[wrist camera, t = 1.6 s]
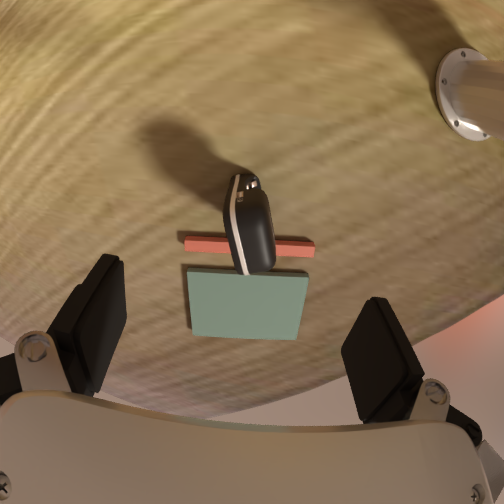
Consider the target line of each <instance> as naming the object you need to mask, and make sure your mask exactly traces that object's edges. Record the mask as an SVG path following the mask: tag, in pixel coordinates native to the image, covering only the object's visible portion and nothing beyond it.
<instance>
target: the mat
mask: <svg viewBox="0 0 504 504" xmlns="http://www.w3.org/2000/svg"><path fill="white" fill-rule="evenodd" d="M187 279H188V291H189V302H190V312H191V322H192V331H193V335H197V336H210V337H226V338H246V339H276V340H296V337H297V333H298V329H299V324H300V319H301V315H302V310H303V305H304V301H305V296H306V291H307V286H308V281H309V275H308V273H290V272H267V271H265V272H259V273H252V274H250V275H246V276H245V275H239V274H238V273H237V272H236V270H226V269H207V268H189V267H188V270H187Z"/></svg>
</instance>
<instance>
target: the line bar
mask: <svg viewBox="0 0 504 504" xmlns="http://www.w3.org/2000/svg"><path fill="white" fill-rule="evenodd" d="M184 242H185V251H195V252H215V253H231V251H230V247H229V243H228V240H227V238H224V237H202V236H186V238H185V240H184ZM275 243H276V256H296V257H314V251H315V245H314V242H301V241H283V240H275Z"/></svg>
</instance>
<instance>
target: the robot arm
mask: <svg viewBox="0 0 504 504" xmlns="http://www.w3.org/2000/svg"><path fill="white" fill-rule="evenodd" d="M435 82H436V96H437V101H438V104H439V108H440V110H441V113H442V115H443V117H444V119H445V120H446V122H447V123H448V125H449V126H450V127H451V128H452V130H453V131H454V132H456V133H457V134H458V135H460V136H462V137H464V138H466V139H469V140H472V141H482V140H485V139H487V138H489V137H491V136H493V137H496V138H498V139H501V140H503V141H504V61H494V60H488V59H487V58H486V57H485V56H484V55H482V54H481V53H479V52H478V51H475V50H473V49H469V48H458V49H455V50H452V51H450V52H449V53H447V54H446V55H445V56H444V57H443V59H442V60H441V62H440V64H439V67H438V70H437V74H436V81H435ZM126 319H127V312H126V299H125V284H124V264H123V261H120V260H119V257H118V256H115V255H110V254H103V255H102V256H101V257H100V259H99V260H98V261H97V263H96V264H95V266H94V267H93V268H92V270H91V271H90V273H89V274H88V276H87V277H86V279H85V280H84V281H83V283H82V284H78V285H77V286H76V287H75V288H74V290H73V291H72V293H71V294H70V296H69V297H68V299H67V300H66V302H65V303H64V305H63V306H62V308H61V309H60V311H59V312H58V314H57V316H56V317H55V319H54V320H53V322H52V324H51V325H50V327H49V328H48V330H47V332H46V333H45V332H43V331H30V332H28V333H25V334H24V335H22V336H21V337H20V338H19V339H18V341H17V342H16V345H15V349H14V353H12V354H10V355H7V356H4V357H1V358H0V504H494V503H495V501H496V500H497V498H498V496H499V494H500V493H501V490H502V489H503V487H504V460H503V459H502V458H501V457H500V456H499V455H498V453H497V452H496V451H495V450H494V449H493V448H492V447H491V446H490V445H489V443H487V441H486V440H483V441H482V431H481V429H480V426H479V425H478V424H477V423H476V422H475V421H474V420H472V419H471V418H469V417H468V416H466V415H465V414H463V413H462V412H460V411H459V410H457V409H455V408H454V407H453V406H451V405H450V394H449V391H448V389H447V388H446V387H445V385H444V384H442V383H441V382H440V381H438V380H436V379H431V378H430V379H426V380H425V381H423V379H422V377H423V376H424V374H425V373H424V371H423V369H422V367H421V365H420V362H419V361H418V358H417V356H416V354H415V352H414V350H413V348H412V346H411V344H410V342H409V340H408V338H407V336H406V334H405V332H404V330H403V328H402V326H401V325H400V323H399V321H398V319H397V317H396V315H395V313H394V311H393V310H392V308H391V306H390V304H389V302H388V300H387V299H386V298H380V297H372V298H370V300H367V301H366V303H365V304H364V306H363V308H362V310H361V312H360V314H359V316H358V318H357V320H356V322H355V323H354V325H353V327H352V329H351V331H350V333H349V334H348V336H347V338H346V340H345V341H344V343H343V345H342V348H341V355H342V358H343V361H344V365H345V368H346V372H347V375H348V379H349V382H350V386H351V390H352V393H353V397H354V401H355V404H356V408H357V412H358V416H359V419H360V420H361V421H363V424H358V425H341V426H274V425H273V426H272V425H255V424H242V423H231V422H221V421H212V420H205V419H197V418H191V417H184V416H178V415H172V414H167V413H161V412H156V411H151V410H146V409H141V408H137V407H131V406H127V405H123V404H119V403H115V402H111V401H107V400H103V399H99V398H94V397H93V395H94V393H95V392H96V393H98V392H99V391H100V389H101V386H102V383H103V380H104V378H105V375H106V372H107V369H108V367H109V364H110V361H111V359H112V356H113V354H114V351H115V349H116V346H117V344H118V341H119V339H120V336H121V334H122V331H123V329H124V326H125V324H126Z"/></svg>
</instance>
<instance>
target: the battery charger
mask: <svg viewBox="0 0 504 504" xmlns="http://www.w3.org/2000/svg"><path fill="white" fill-rule="evenodd" d="M223 222H224V227H225V232H226V236H227V240H228V243H229V247H230V251H231V255H232V259H233V262H234V266H235V269H236V272H237V273H238V274H239V275H245V276H246V275H250V274H252V273H259V272H265V271H268V270H270V269H272V268H273V267H274V265H275V262H276V243H275V235H274V229H273V224H272V218H271V213H270V207H269V202H268V198H267V195H266V194H265V193H264V191H263V190H261V186H260V181H259V179H258V177H257V176H255V175H253V174H242V175H240V174H238V175H236V176H233V177H231V180H230V185H229V189H228V192H227V195H226V199H225V203H224V208H223Z"/></svg>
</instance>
